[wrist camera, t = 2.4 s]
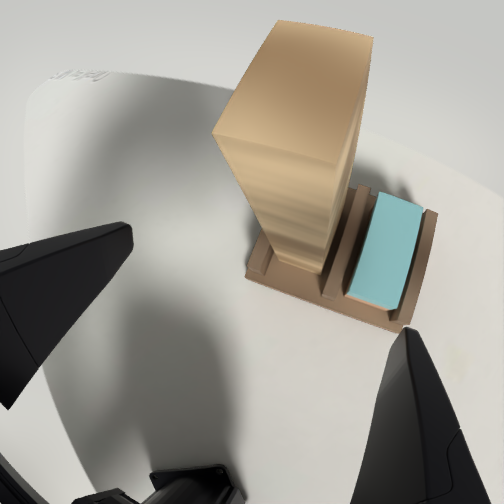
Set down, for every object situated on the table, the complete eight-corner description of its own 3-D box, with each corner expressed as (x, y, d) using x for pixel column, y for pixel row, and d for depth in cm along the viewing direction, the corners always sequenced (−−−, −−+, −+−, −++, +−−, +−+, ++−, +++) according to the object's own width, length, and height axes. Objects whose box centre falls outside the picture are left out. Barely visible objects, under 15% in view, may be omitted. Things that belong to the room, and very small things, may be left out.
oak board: (320, 275, 19) (335, 164, 6) (278, 260, 20) (211, 133, 7) (342, 210, 20) (373, 37, 7) (302, 197, 21) (278, 19, 7)
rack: (396, 333, 18) (409, 334, 16) (247, 279, 21) (237, 271, 18) (427, 222, 20) (442, 207, 17) (288, 175, 22) (284, 154, 19)
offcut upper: (390, 309, 17) (397, 308, 15) (346, 294, 17) (349, 291, 16) (416, 216, 17) (423, 207, 16) (375, 201, 18) (379, 191, 17)
